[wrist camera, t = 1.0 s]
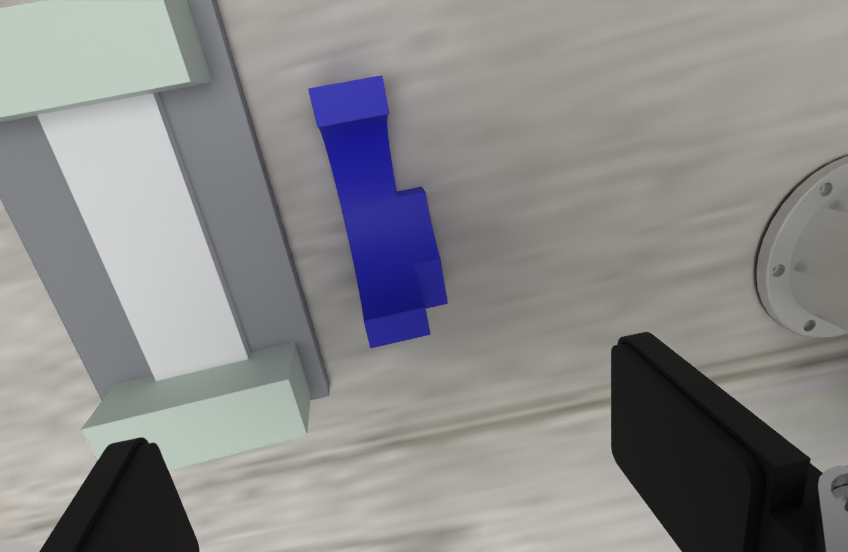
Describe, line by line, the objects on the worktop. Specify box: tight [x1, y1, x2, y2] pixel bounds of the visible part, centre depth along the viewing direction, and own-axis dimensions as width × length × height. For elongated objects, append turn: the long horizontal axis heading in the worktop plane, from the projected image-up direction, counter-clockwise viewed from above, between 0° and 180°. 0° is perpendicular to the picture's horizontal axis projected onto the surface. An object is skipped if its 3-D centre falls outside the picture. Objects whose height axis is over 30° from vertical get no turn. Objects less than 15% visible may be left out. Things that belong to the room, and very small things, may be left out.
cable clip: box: [308, 75, 448, 348], centre depth 25 cm, size 12×4×6 cm, turn 10°
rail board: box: [0, 0, 329, 471], centre depth 25 cm, size 12×22×5 cm, turn 11°
